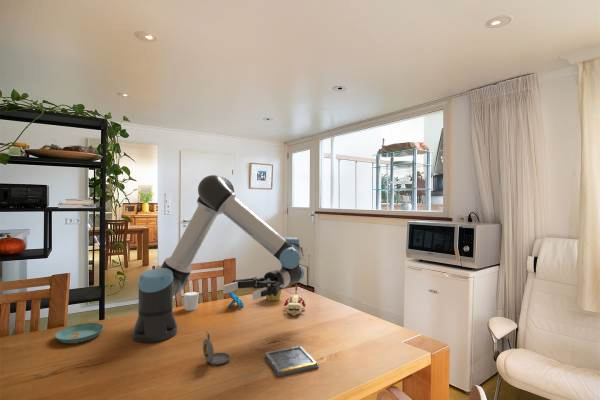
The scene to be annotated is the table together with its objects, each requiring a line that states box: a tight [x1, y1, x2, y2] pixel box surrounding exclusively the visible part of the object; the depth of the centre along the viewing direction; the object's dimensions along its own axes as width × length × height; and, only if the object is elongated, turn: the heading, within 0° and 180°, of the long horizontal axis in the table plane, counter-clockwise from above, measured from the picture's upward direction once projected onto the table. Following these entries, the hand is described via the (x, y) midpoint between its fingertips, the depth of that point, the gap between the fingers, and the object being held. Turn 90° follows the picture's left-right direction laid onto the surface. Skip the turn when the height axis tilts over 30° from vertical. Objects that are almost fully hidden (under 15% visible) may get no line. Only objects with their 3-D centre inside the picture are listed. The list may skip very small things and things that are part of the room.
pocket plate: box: [263, 345, 319, 378], centre depth 102 cm, size 13×13×1 cm
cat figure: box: [283, 285, 306, 316], centre depth 153 cm, size 10×9×25 cm
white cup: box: [183, 291, 200, 312], centre depth 150 cm, size 7×7×7 cm
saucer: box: [54, 322, 105, 345], centre depth 118 cm, size 15×15×3 cm
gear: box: [227, 291, 245, 308], centre depth 153 cm, size 11×6×10 cm
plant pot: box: [265, 289, 283, 302], centre depth 166 cm, size 10×10×10 cm
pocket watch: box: [202, 331, 231, 366], centre depth 102 cm, size 8×8×10 cm
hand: (238, 292), depth 110 cm, fingers open, 13 cm apart
